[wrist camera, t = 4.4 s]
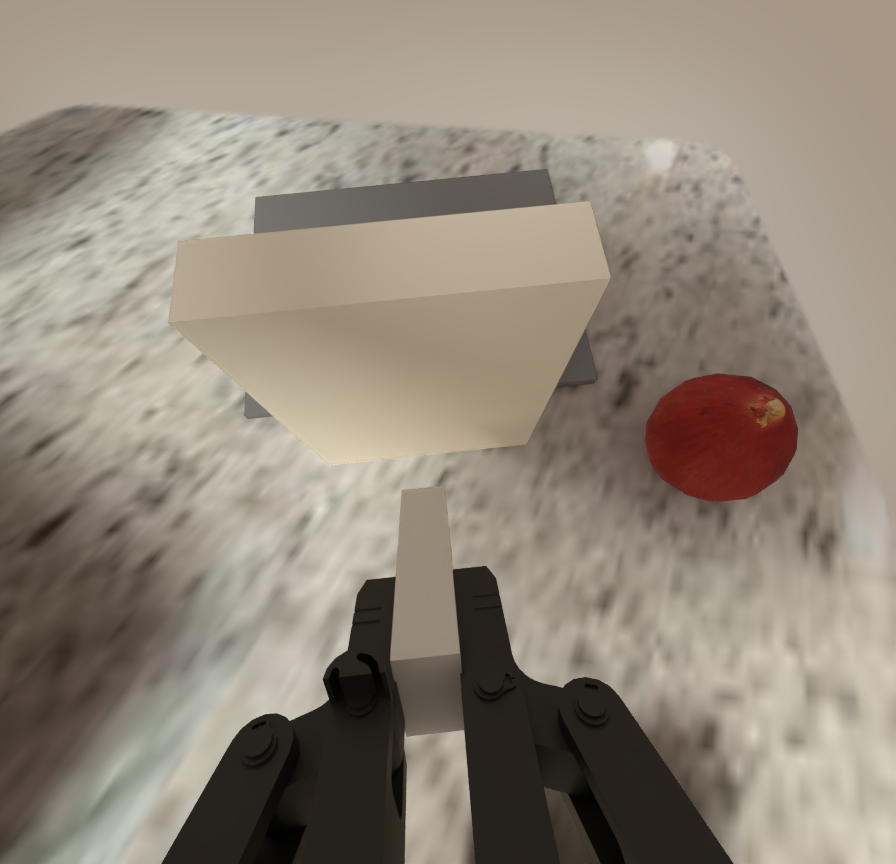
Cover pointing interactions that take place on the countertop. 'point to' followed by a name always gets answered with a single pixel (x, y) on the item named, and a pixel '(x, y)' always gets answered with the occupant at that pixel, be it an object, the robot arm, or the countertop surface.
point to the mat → (414, 204)
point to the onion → (721, 437)
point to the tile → (398, 325)
